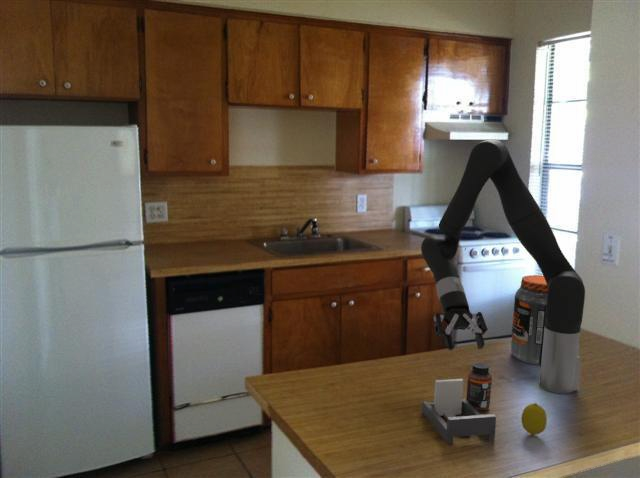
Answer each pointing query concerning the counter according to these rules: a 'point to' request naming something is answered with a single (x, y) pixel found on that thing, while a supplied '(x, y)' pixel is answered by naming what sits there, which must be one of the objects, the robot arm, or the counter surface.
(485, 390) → the supplement bottle
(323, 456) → the counter surface
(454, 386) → the plate
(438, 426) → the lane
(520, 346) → the supplement tub
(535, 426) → the lemon
